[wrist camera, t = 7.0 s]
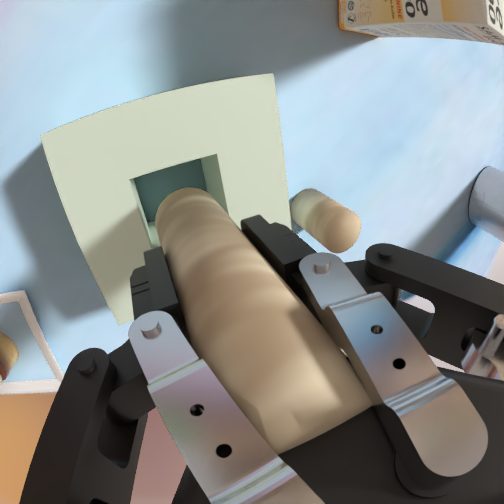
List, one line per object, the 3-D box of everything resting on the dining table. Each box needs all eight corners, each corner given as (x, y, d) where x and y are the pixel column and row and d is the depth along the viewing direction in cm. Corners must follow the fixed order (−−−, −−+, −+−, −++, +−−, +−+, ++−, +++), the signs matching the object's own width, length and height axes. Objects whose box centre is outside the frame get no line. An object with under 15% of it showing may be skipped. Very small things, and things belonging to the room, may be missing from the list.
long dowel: (212, 179, 14) (404, 374, 5) (225, 237, 16) (374, 441, 6) (147, 199, 14) (232, 463, 4) (165, 257, 15) (259, 498, 6)
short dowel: (322, 184, 25) (361, 206, 21) (324, 219, 26) (360, 245, 22) (288, 194, 24) (323, 218, 20) (291, 230, 26) (325, 259, 22)
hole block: (240, 76, 18) (273, 73, 14) (264, 232, 25) (294, 263, 21) (60, 125, 15) (40, 135, 11) (117, 281, 22) (118, 325, 18)
